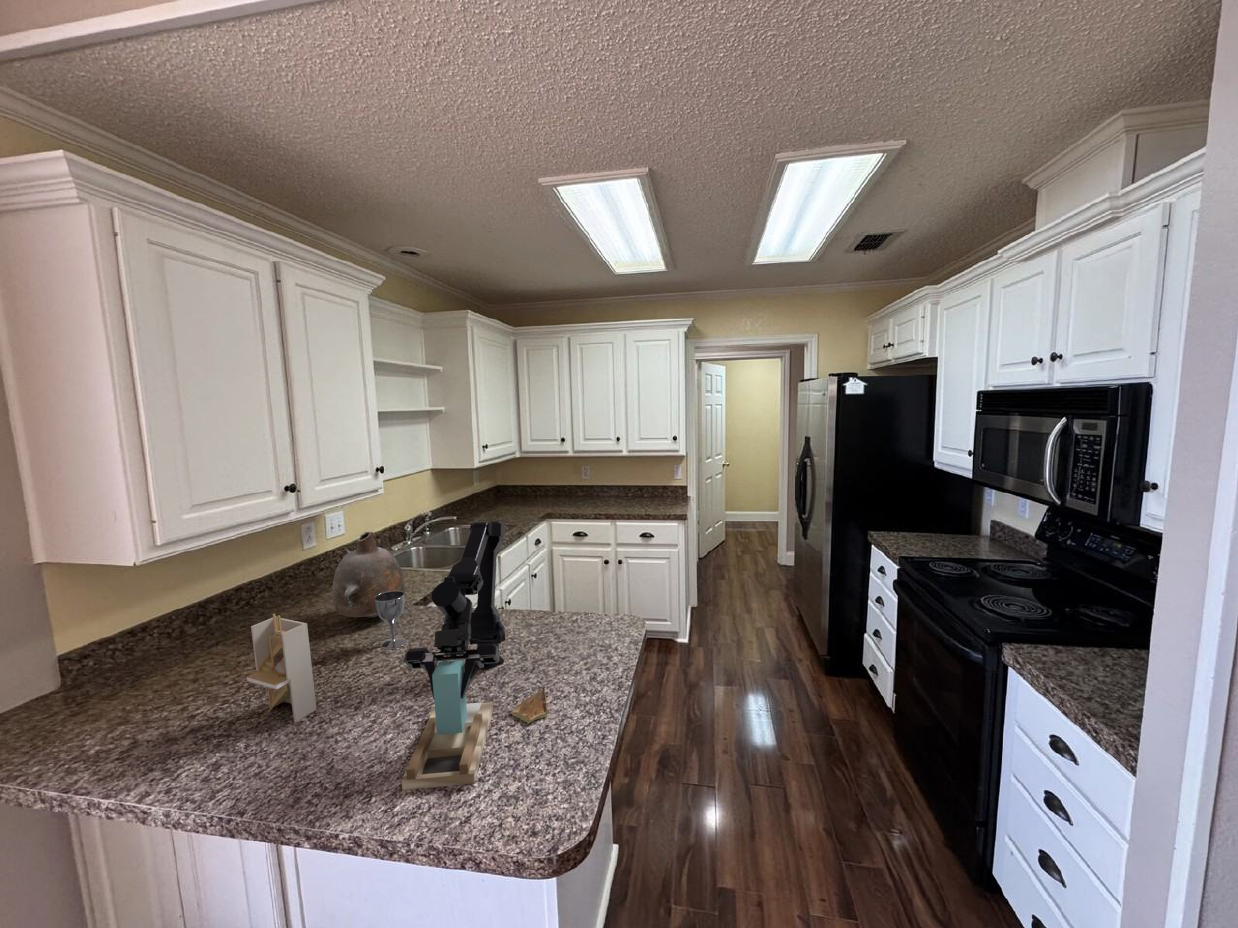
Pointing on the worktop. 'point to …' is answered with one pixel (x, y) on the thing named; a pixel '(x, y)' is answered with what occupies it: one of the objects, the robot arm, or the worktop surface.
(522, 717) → the shard
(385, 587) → the jug
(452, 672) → the tall block
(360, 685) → the worktop surface
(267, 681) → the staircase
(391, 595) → the wine glass
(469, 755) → the beige tray
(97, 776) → the worktop surface
